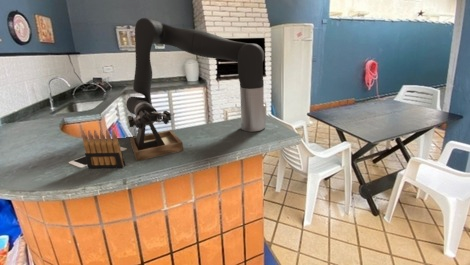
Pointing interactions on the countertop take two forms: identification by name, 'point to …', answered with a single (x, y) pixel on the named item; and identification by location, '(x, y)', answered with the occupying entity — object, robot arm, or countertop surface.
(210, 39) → the robot arm
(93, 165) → the ammunition clip
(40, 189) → the countertop surface
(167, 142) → the shallow tray
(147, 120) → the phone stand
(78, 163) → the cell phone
